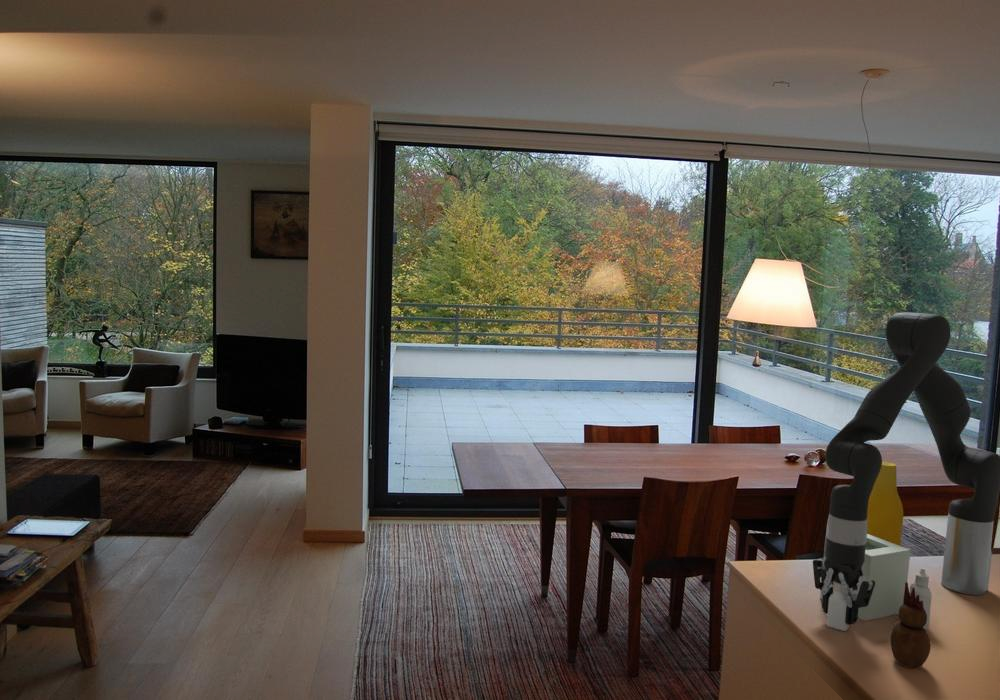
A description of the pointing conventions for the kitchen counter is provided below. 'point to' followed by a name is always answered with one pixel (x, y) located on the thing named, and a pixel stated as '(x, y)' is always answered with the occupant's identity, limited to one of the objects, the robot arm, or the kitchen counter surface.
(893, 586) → the tissue box
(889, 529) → the beer bottle
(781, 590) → the kitchen counter surface
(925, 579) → the eye dropper bottle
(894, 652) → the wooden figurine
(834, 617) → the salt shaker
